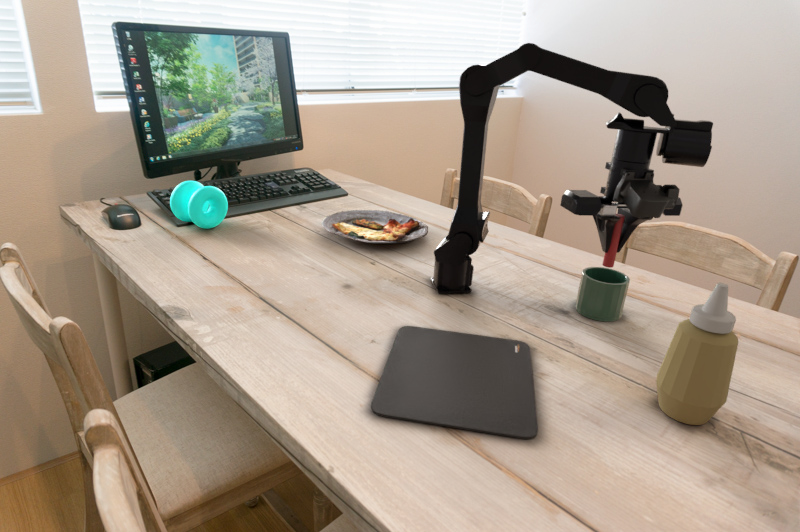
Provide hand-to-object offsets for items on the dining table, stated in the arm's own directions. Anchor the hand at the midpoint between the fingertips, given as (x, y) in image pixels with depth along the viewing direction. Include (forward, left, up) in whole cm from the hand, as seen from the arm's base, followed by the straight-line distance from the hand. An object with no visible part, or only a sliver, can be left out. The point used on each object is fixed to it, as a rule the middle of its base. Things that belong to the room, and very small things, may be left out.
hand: (610, 251), depth 90 cm
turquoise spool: (-75, +51, -12) cm, 91 cm away
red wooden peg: (0, 0, -2) cm, 3 cm away
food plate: (-36, +40, -8) cm, 55 cm away
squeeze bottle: (-4, -28, -12) cm, 30 cm away
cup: (0, 0, -12) cm, 12 cm away
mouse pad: (-31, -17, -12) cm, 37 cm away
